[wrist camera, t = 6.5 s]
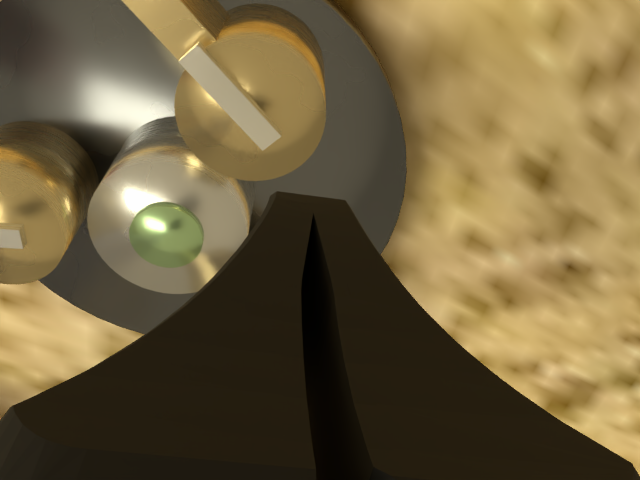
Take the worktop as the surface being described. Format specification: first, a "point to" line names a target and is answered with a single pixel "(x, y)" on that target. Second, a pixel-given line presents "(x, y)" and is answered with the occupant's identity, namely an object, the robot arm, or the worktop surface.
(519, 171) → the worktop surface
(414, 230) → the worktop surface
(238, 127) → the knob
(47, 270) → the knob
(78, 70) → the level plate
